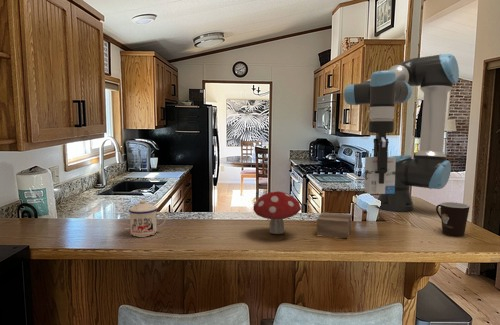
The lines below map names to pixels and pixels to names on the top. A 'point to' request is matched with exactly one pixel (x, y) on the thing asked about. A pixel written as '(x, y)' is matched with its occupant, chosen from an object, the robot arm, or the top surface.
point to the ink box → (371, 175)
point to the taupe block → (334, 225)
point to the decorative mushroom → (276, 209)
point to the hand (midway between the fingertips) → (378, 191)
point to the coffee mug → (453, 218)
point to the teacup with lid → (144, 218)
